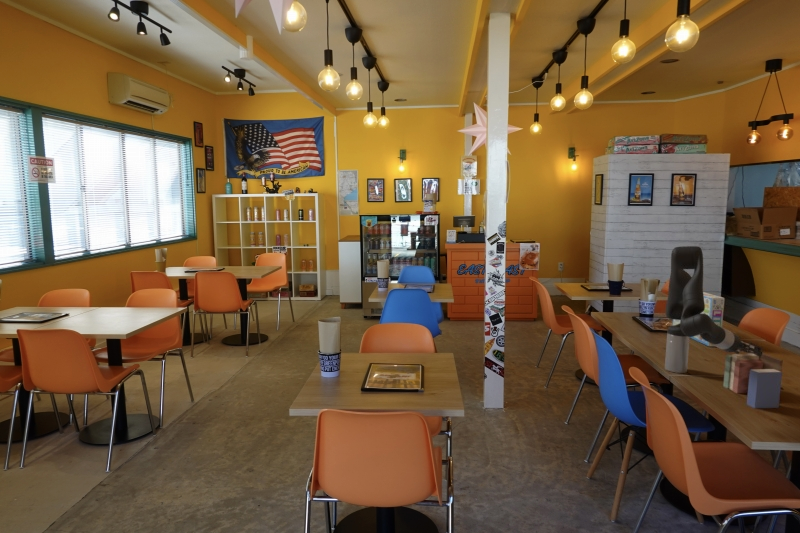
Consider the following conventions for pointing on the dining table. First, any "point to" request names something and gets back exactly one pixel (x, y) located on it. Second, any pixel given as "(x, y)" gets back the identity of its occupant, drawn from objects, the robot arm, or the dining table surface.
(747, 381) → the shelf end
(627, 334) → the dining table surface
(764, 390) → the boxed book
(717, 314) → the game box
